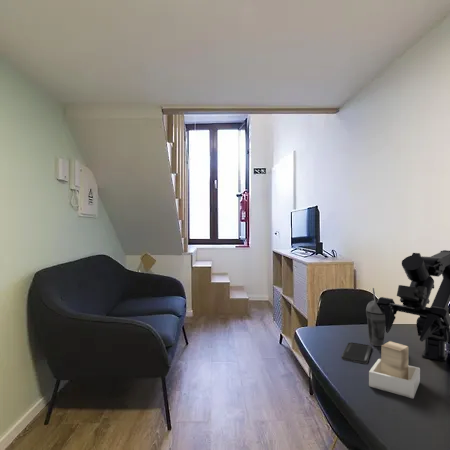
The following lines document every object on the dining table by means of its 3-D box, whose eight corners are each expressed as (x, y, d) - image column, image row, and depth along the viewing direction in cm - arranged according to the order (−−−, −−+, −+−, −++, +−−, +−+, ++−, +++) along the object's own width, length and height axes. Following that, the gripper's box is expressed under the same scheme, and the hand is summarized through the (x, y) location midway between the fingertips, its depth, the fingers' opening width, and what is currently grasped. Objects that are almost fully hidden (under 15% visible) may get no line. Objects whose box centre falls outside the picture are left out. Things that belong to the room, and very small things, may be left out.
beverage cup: (391, 347, 120) (391, 290, 119) (370, 347, 120) (370, 290, 120) (382, 340, 127) (382, 286, 127) (362, 340, 127) (362, 286, 127)
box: (378, 372, 101) (378, 358, 101) (419, 382, 95) (419, 367, 94) (368, 386, 92) (369, 371, 92) (413, 398, 86) (413, 382, 86)
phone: (372, 345, 120) (366, 361, 106) (372, 349, 120) (366, 365, 107) (348, 341, 123) (340, 356, 110) (348, 345, 123) (340, 360, 110)
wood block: (389, 376, 97) (389, 341, 97) (408, 382, 93) (408, 346, 93) (381, 381, 94) (381, 345, 94) (400, 388, 90) (400, 350, 90)
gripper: (379, 270, 107) (361, 312, 100) (448, 278, 92) (432, 328, 86) (391, 292, 112) (374, 333, 105) (457, 303, 98) (443, 351, 91)
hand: (403, 336), depth 97 cm, fingers open, 9 cm apart
